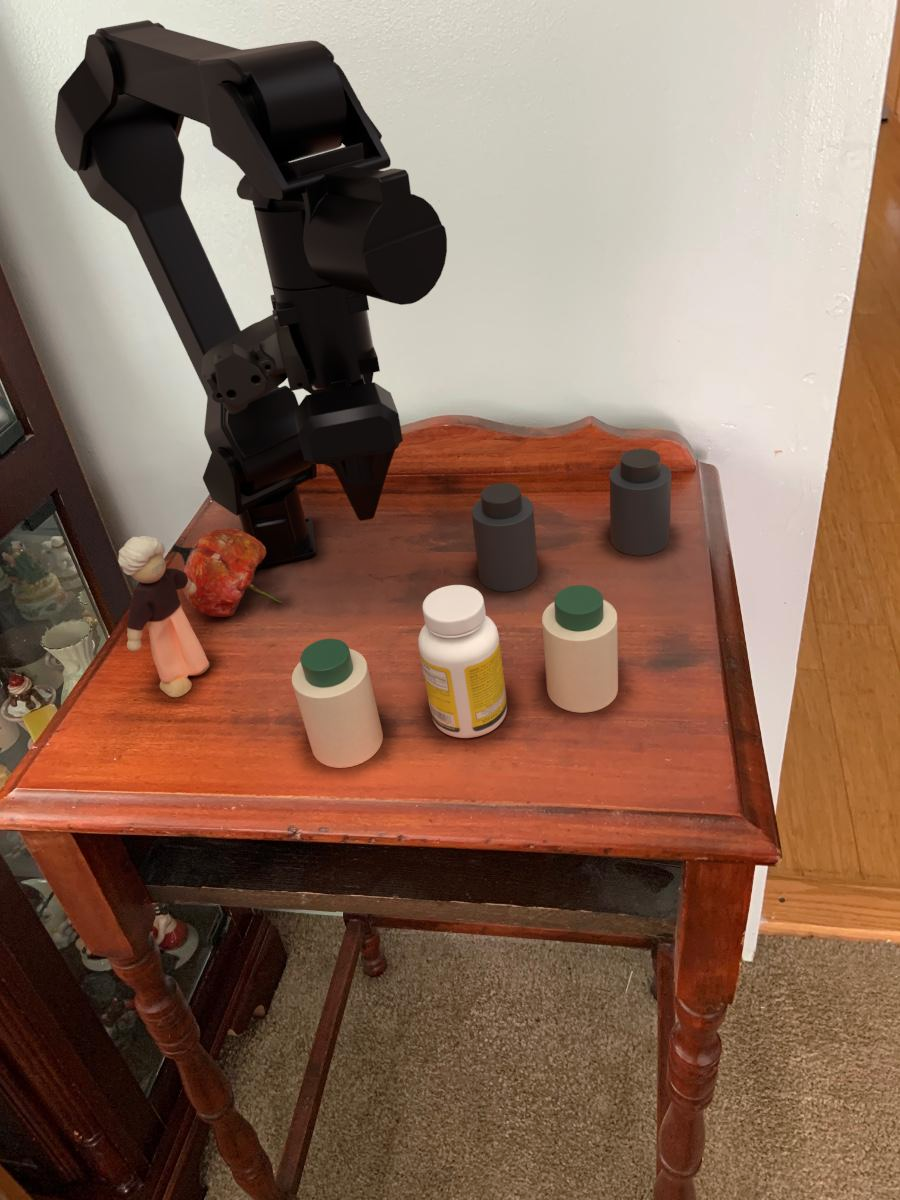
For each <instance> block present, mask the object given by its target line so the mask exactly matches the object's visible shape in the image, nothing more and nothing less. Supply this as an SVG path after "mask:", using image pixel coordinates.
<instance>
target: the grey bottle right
mask: <svg viewBox="0 0 900 1200" xmlns="http://www.w3.org/2000/svg"><path fill="white" fill-rule="evenodd" d="M661 459H662V458H661V455H660V454H659V453H658V452H657V451H655V450H653V449H649V448H635V449H634V448H633V449H631V450H627V451H626V452H624V453H623V454H621V456H620V460H619V461H620V462H619V464H617V465H616V466H614V467H612V469H611V471H610V472H609V523H610V524H609V525H610V526H609V527H610V528H609V529H610V530H609V531H610V534H609V535H610V544H611V546H612V547H613V548H614V549H615V550H617V551H618V552H620V553H622V554H625V555H629V556H635V557H636V556H637V557H638V556H639V557H641V556H642V557H644V556H650V555H654V554H657V553H660V552H661V551H663V550H664V549H665V548H667V547H668V545H669V543H670V537H671V535H670V531H671V505H672V504H671V503H672V502H671V501H672V500H671V498H672V471H671V469H670V468H669V467H668V466H667V465H666V464H664V463H662V462H661Z"/></svg>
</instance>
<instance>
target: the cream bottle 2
mask: <svg viewBox="0 0 900 1200" xmlns="http://www.w3.org/2000/svg"><path fill="white" fill-rule="evenodd" d="M541 623H542V624H541V625H542V638H543V639H542V640H543V653H544V665H545V679H546V680H545V681H546V692H547V695H548V697H549V699H550V700H551V702H552V703H553V704H554V705H556V706H557V707H558V708H560V709H562V710H565V711H567V712H571V713H577V714H580V713H581V714H582V713H583V714H585V713H593V712H597V711H600V710H602V709H604V708H606V707H608V706H609V705H610V704H611V703H612V702H614V700H615V699H616V697H617V695H618V692H619V657H618V656H619V655H618V654H619V653H618V651H619V648H618V647H619V646H618V641H619V639H618V636H619V635H618V613H617V611H616V609H615V607H614V606H613V605H612V604H611V603H610V602H609V601H608V600H606V599H604V596H603V594H602V593H601V592H600V591H599V590H598V589H597V588H595V587H592V586H589V585H585V584H584V585H583V584H576V585H569V586H567V587H564V588H563V589H561V590H560V591H558V592H557V593H556V595H555V596H554V601H553V602H551V603H550V604H549V605H547V607H545V609H544V611H543V613H542V615H541Z"/></svg>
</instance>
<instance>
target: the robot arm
mask: <svg viewBox="0 0 900 1200" xmlns="http://www.w3.org/2000/svg"><path fill="white" fill-rule="evenodd" d="M85 42H86V43H85V51H84V58H83V60H82V61H81V62H80V63H79V65H78V66H77V67H76V69H75V70H74V71H73V72H72V73H71V75H70V76H69V77H68V78H67V80H66V81H65V82H64V83H63V84H62V86H61V87H60V88H59V90H58V93H57V100H56V110H55V120H54V135H55V138H56V142H57V145H58V148H59V151H60V153H61V155H62V157H63V159H64V161H65V163H66V164H67V166H68V167H69V168H70V169H71V170H72V171H73V172H76V174H77V175H78V177H79V179H80V181H81V183H82V184H83V186H84V188H85V190H86V192H87V194H88V195H89V197H90V198H91V200H93V201H94V202H95V203H97V205H99V206H100V207H102V208H103V209H105V210H106V211H107V212H108V213H109V214H111V215H112V216H114V217H115V218H117V219H118V220H119V221H120V222H121V223H123V224H124V225H125V226H126V228H127V229H128V232H129V233H130V235H131V238H132V240H133V243H134V244H135V246H136V248H137V250H138V252H139V255H140V256H141V259H142V261H143V264H144V265H145V267H146V269H147V271H148V274H149V276H150V278H151V280H152V282H153V284H154V287H155V288H156V291H157V293H158V296H159V297H160V300H161V301H162V303H163V305H164V307H165V311H166V312H167V314H168V316H169V318H170V320H171V322H172V325H173V326H174V329H175V331H176V333H177V336H178V337H179V339H180V341H181V343H182V346H183V347H184V349H185V352H186V354H187V356H188V358H189V360H190V363H191V365H192V367H193V369H194V371H195V373H196V375H197V377H198V379H199V382H200V383H201V386H202V388H203V390H204V392H205V395H206V398H207V400H206V409H205V410H206V411H205V417H204V418H205V419H204V431H203V432H204V433H203V435H204V438H205V440H206V443H207V444H208V447H209V449H210V452H211V453H210V456H209V459H208V462H207V464H206V466H205V470H204V473H203V475H202V481H203V484H204V485H205V487H206V489H207V492H208V493H209V496H210V498H211V500H212V501H213V502H215V503H217V504H218V505H219V506H221V507H223V508H224V509H225V510H227V511H228V512H230V513H232V514H233V515H234V516H237V517H238V518H239V521H240V524H241V528H242V531H244V532H245V533H247V534H249V535H251V536H253V537H255V538H256V539H257V540H258V541H260V542H261V543H262V544H263V545H264V547H265V548H266V555H265V557H264V559H263V560H262V562H261V563H260V564H259V565H258V566H257V568H256V569H255V570H257V569H261V568H266V567H271V566H276V565H281V564H285V563H291V562H295V561H301V560H305V559H309V558H313V557H315V556H317V547H316V545H317V544H316V540H315V539H316V538H315V532H314V525H313V520H312V518H311V517H306V516H305V513H304V508H303V505H302V501H301V496H300V492H299V489H298V488H299V487H298V486H299V485H301V484H304V483H306V482H308V481H311V480H313V479H317V471H318V470H317V467H318V466H317V465H324V466H326V467H329V468H331V469H332V470H333V471H334V473H335V475H336V478H337V479H338V481H339V483H340V485H341V487H342V489H343V492H344V493H345V496H346V497H347V499H348V501H349V504H350V506H351V507H352V509H353V512H354V513H355V516H356V517H357V520H358V521H361V522H363V521H368V520H373V519H374V518H375V516H376V512H377V510H378V505H379V502H380V500H381V499H380V498H381V495H382V492H383V489H384V486H385V485H384V484H385V482H386V479H387V476H388V472H389V470H390V466H391V463H392V460H393V458H394V454H395V451H396V450H397V449H398V448H399V446H400V444H401V443H403V442H404V440H403V434H402V426H401V421H400V415H399V412H398V409H397V406H396V404H395V400H394V398H393V395H392V393H391V392H390V391H388V390H387V389H386V388H384V387H383V386H381V385H379V384H378V383H376V382H375V381H373V379H374V374H375V373H378V372H379V373H380V372H381V370H380V364H379V363H380V362H379V358H378V355H377V352H376V348H375V347H374V343H373V342H374V341H373V336H372V332H371V331H372V330H371V324H370V319H369V314H368V311H370V305H369V301H368V299H369V298H368V297H370V298H374V299H376V300H380V301H385V302H387V303H391V304H395V305H400V306H403V305H412V304H415V303H417V302H419V301H421V300H422V299H424V298H425V297H426V296H427V295H429V294H430V292H431V291H432V290H433V289H434V288H435V286H436V285H437V283H438V281H439V279H440V278H441V276H442V273H443V271H444V267H445V264H446V258H447V252H448V237H447V230H446V227H445V225H443V224H442V221H441V218H440V216H439V213H438V212H437V211H436V210H435V208H434V207H433V206H432V204H431V203H429V202H428V200H426V199H425V198H424V197H421V196H419V195H416V194H413V193H412V190H411V184H410V183H411V182H410V175H409V172H408V171H407V170H406V169H404V168H403V169H402V168H390V167H391V164H392V163H391V157H390V155H389V153H388V151H387V150H386V148H385V146H384V144H383V143H382V141H381V140H382V138H383V135H382V133H381V132H380V130H379V129H378V127H377V126H376V125H375V123H374V122H373V121H372V119H371V118H370V116H369V115H368V113H367V112H366V111H365V109H364V107H363V105H362V103H361V100H360V99H359V98H358V96H357V94H356V92H355V90H354V88H353V87H352V84H351V83H350V81H349V80H348V77H347V75H346V73H345V72H344V70H343V69H342V68H341V66H340V65H339V64H338V63H337V62H336V61H335V55H334V53H332V51H331V50H329V48H328V47H327V46H326V45H324V44H323V43H321V42H320V41H318V40H313V39H311V40H302V41H301V40H300V41H294V42H286V43H285V42H284V43H279V44H278V43H277V44H272V45H266V46H259V47H252V48H245V49H241V48H236V47H234V46H230V45H226V44H224V43H223V44H222V43H218V42H215V41H211V40H208V39H205V38H201V37H198V36H193V35H190V34H186V33H184V32H183V33H182V32H180V31H176V30H172V29H168V28H166V27H165V26H164V25H163V24H161V23H160V22H152V21H151V20H149V19H146V20H139V21H135V22H129V23H124V24H117V25H111V26H106V27H100V28H97V29H96V30H95V32H94V33H91V34H89V35H88V36H87V38H86V41H85ZM185 118H187V119H190V120H193V121H195V122H197V123H199V124H202V125H205V126H206V127H208V128H209V132H210V137H211V138H210V139H211V143H212V146H213V147H214V148H215V149H216V150H218V151H219V152H220V153H222V154H223V155H224V156H226V157H227V158H229V159H230V160H231V161H232V162H234V163H235V164H236V165H237V166H238V168H239V169H240V170H241V171H242V172H243V174H244V175H243V176H242V178H240V180H239V182H238V185H237V187H236V194H237V196H238V198H239V199H241V200H245V201H250V202H252V205H253V210H254V215H255V219H256V222H257V226H258V231H259V235H260V239H261V244H262V248H263V253H264V257H265V262H266V265H267V270H268V274H269V278H270V283H271V287H272V293H273V294H270V301H271V306H272V310H271V311H272V314H271V315H269V316H267V317H265V318H263V319H261V320H259V321H256V322H254V323H252V324H250V325H248V326H247V327H245V328H244V329H242V330H241V327H240V325H239V323H238V321H237V319H236V317H235V314H234V313H233V310H232V308H231V306H230V304H229V301H228V299H227V297H226V295H225V293H224V291H223V288H222V286H221V284H220V282H219V279H218V277H217V275H216V273H215V270H214V269H213V266H212V264H211V262H210V260H209V258H208V255H207V253H206V251H205V248H204V247H203V244H202V241H201V240H200V237H199V235H198V232H197V231H196V229H195V227H194V224H193V223H192V220H191V218H190V215H189V213H188V211H187V209H186V206H185V204H184V201H183V200H182V189H183V181H184V169H185V154H184V151H183V149H182V146H181V143H180V141H179V137H180V134H181V131H182V126H183V124H184V121H185ZM342 145H343V147H342ZM384 169H385V170H384ZM286 380H287V382H288V385H282V384H283V383H285V381H286ZM280 385H282V386H280ZM279 386H280V387H279ZM298 390H304V391H305V392H308V394H306V395H305V396H304V397H303V399H302V401H301V402H300V403H299V402H298V399H297V396H296V393H295V392H294V391H298Z"/></svg>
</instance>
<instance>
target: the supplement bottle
mask: <svg viewBox="0 0 900 1200" xmlns="http://www.w3.org/2000/svg"><path fill="white" fill-rule="evenodd" d="M486 613H487V611H486V606H485V600H484V597H483V594H482V593H481V591H479V590H478V589H477V588H474V587H472V586H469V585H465V584H451V585H450V584H449V585H446V586H442V587H439V588H437V589H434V590H433V591H431V592H430V593H429V594H428V595H427V596H425V599H424V600H423V602H422V614H423V621H424V625H423V626H422V628H421V630H420V632H419V635H418V639H417V643H418V644H417V645H418V652H419V656H420V662H421V663H420V664H421V667H422V668H421V669H422V672H423V679H424V684H425V689H426V690H425V691H426V695H427V700H428V701H427V702H428V706H429V709H430V715H431V719H432V722H433V723H434V725H435V726H436V727H437V728H438V730H440V731H441V732H442V733H443V734H445V735H448V736H450V737H454V738H457V739H458V738H459V739H471V738H477V737H481V736H484V735H487V734H489V733H490V732H493V731H494V730H496V728H498V727H499V726H500V725H501V724H502V723H503V721H504V720H505V717H506V715H507V711H508V703H507V691H506V683H505V682H506V681H505V675H504V666H503V660H502V652H501V651H502V650H501V642H500V635H499V631H498V628H497V625H496V624H495V622H494V620H493V619H491V618H490V617H489V616H488V615H486Z"/></svg>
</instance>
